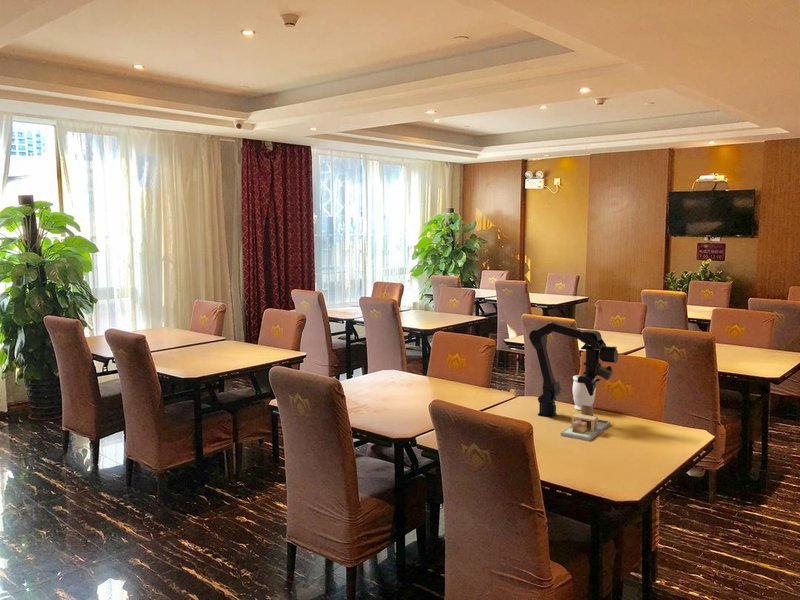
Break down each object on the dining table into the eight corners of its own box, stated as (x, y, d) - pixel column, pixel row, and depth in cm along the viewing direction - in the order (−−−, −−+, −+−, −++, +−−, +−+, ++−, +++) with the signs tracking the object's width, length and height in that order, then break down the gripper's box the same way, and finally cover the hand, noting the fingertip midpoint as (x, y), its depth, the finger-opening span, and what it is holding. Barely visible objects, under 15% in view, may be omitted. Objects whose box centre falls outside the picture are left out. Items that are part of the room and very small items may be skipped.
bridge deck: (560, 435, 265) (560, 420, 264) (583, 419, 286) (583, 405, 285) (589, 441, 258) (589, 425, 257) (610, 424, 279) (610, 410, 278)
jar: (597, 411, 298) (598, 379, 296) (575, 411, 298) (576, 380, 296) (591, 405, 309) (592, 374, 307) (569, 405, 309) (570, 374, 307)
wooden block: (572, 431, 266) (572, 411, 265) (581, 424, 275) (582, 404, 274) (583, 433, 263) (584, 412, 262) (593, 426, 272) (593, 406, 271)
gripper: (603, 366, 267) (602, 403, 269) (617, 358, 282) (616, 393, 284) (577, 363, 273) (576, 399, 275) (592, 355, 288) (591, 390, 290)
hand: (591, 395), depth 281 cm, fingers closed
